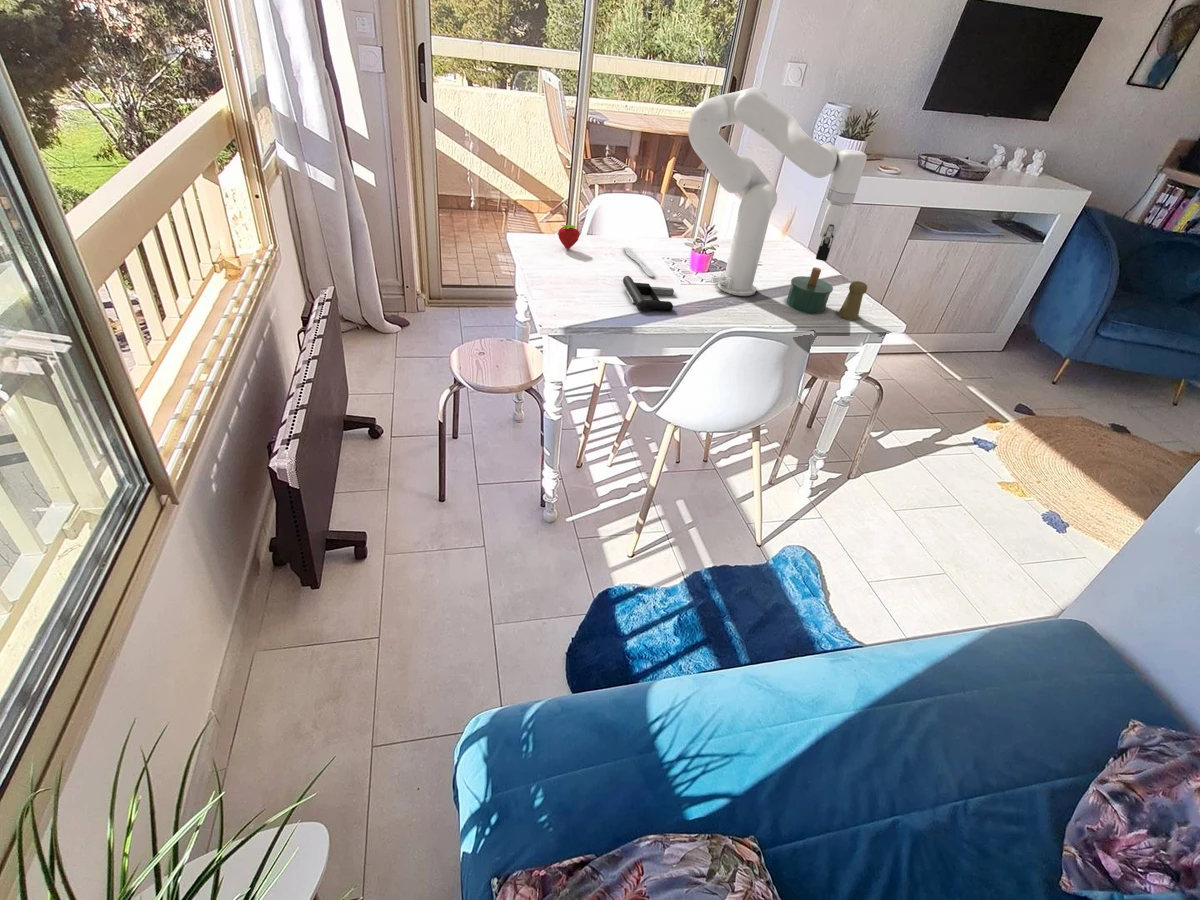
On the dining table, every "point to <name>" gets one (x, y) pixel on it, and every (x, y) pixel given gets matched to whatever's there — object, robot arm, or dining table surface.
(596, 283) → the dining table surface
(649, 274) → the butter knife
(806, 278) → the pot lid
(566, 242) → the strawberry
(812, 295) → the pot
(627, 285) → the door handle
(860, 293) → the olive tapered upright piece
